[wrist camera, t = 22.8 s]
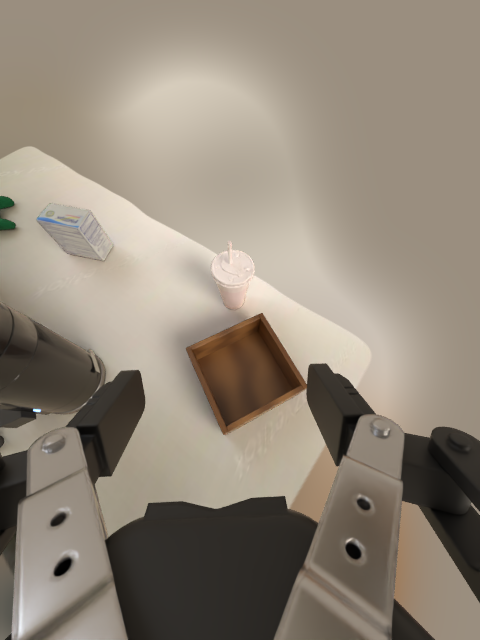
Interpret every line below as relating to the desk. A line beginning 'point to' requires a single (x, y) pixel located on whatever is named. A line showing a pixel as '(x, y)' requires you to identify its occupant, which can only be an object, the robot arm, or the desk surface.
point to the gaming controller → (5, 224)
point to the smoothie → (232, 275)
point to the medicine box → (76, 231)
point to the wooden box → (245, 372)
